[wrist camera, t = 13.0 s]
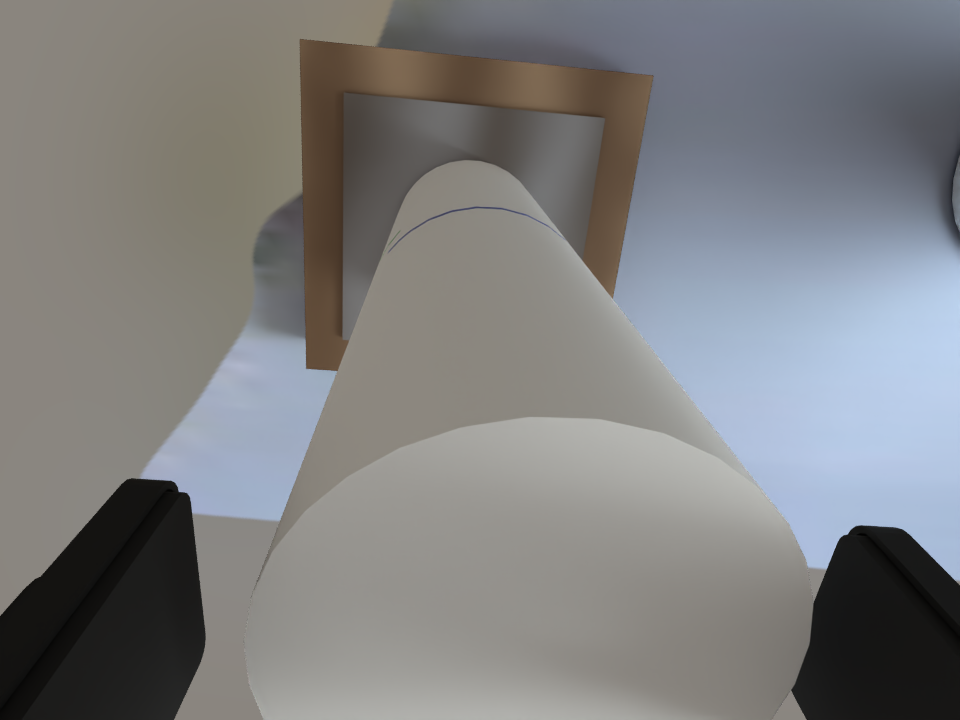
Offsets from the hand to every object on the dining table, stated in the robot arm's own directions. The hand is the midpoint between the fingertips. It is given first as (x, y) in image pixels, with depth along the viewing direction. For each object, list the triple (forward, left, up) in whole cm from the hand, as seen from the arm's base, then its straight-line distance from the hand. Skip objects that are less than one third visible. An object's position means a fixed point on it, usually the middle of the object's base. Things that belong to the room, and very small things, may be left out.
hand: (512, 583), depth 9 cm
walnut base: (0, 0, -28) cm, 28 cm away
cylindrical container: (0, 0, -24) cm, 24 cm away
